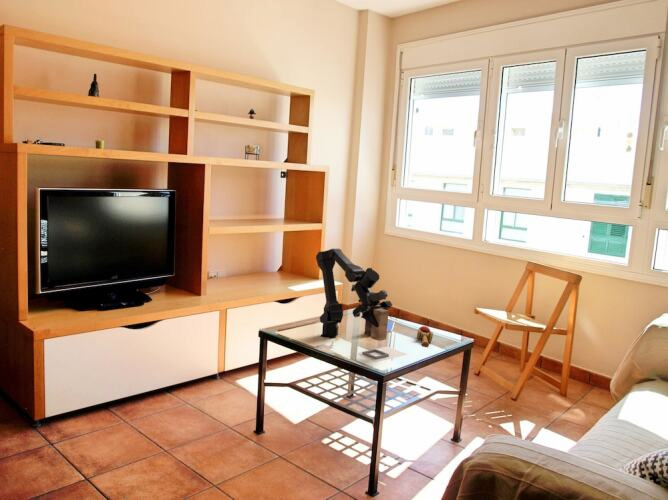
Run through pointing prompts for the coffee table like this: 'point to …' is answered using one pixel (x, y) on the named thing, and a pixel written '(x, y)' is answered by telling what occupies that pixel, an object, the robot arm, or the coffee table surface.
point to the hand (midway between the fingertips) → (381, 326)
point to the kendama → (425, 335)
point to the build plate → (381, 354)
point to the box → (368, 327)
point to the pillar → (380, 324)
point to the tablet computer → (390, 326)
